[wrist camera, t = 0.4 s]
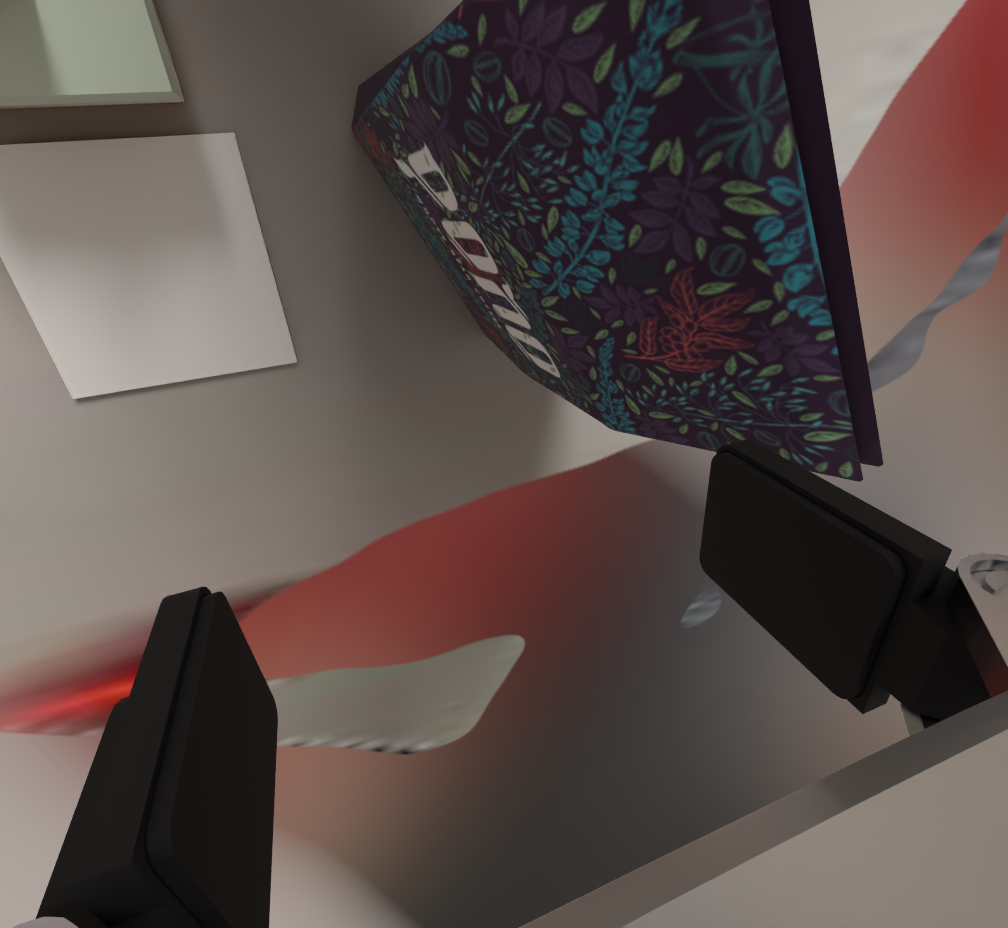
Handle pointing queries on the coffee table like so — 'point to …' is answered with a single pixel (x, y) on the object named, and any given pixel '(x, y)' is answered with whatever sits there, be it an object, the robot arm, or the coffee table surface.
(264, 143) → the coffee table surface
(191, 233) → the mat
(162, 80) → the lid
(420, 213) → the dark patterned coffee bag
